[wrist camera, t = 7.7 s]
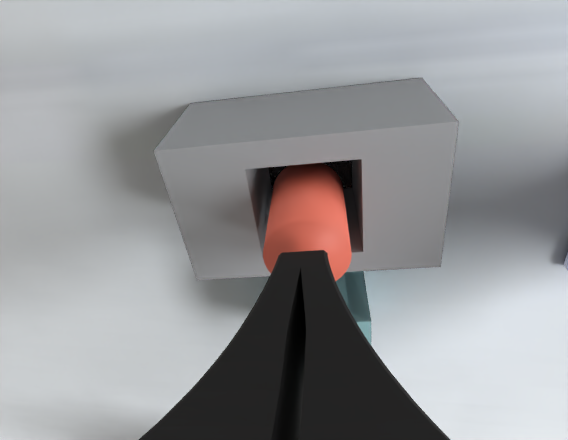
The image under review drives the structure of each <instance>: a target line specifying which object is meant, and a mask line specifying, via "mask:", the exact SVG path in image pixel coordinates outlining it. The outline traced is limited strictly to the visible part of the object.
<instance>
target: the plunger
mask: <svg viewBox="0 0 568 440" xmlns="http://www.w3.org/2000/svg"><path fill="white" fill-rule="evenodd" d="M314 250H324V251H326V252H327V253H328V260H329V264H330V267H331V270H332V273H333V276H334V278H335V281H337V280H338V279H339V278H341V277H342V276H343V275H344V273H345V272H346V271H347V269H348V268H349V265H350V263H351V257H352V253H351V245H350V238H349V230H348V222H347V214H346V207H345V199H344V191H343V185H342V181H341V179H340V177H339V176H338V174H337V173H336V172H335V171H334V170H333V169H332V168H330V167H329V166H327V165H325V164H323V163H312V164H300V165H289V166H287V167H286V168H285V169H283V170H282V171H281V172H280V173H279V175H278V176H277V178H276V180H275V182H274V186H273V192H272V199H271V205H270V211H269V217H268V223H267V230H266V236H265V242H264V248H263V259H264V263H265V265H266V267H267V269H268V271H269V272H270V273H272V271H273V268H274V266H275V264H276V261H277V259H278V256H279V255H280V254H281V253H283V252H298V251H314Z"/></svg>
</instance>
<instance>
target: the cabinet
mask: <svg viewBox="0 0 568 440" xmlns="http://www.w3.org/2000/svg"><path fill="white" fill-rule="evenodd" d="M458 124H459V121H458V120H457V119H456V117H455V116H454V115H453V114H452V113H451V111H450V110H449V109H448V108H447V107H446V106H445V104H444V103H443V102H442V101H441V100H440V98H439V97H438V96H437V95H436V94H435V92H434V91H433V90H432V89H431V88H430V87H429V85H428V84H427V83H426V82H425V81H424V79H423V78H415V79H406V80H397V81H388V82H379V83H370V84H361V85H352V86H343V87H334V88H325V89H316V90H307V91H298V92H289V93H280V94H270V95H261V96H252V97H243V98H234V99H225V100H216V101H207V102H198V103H190V104H189V106H188V107H187V108H186V110H185V111H184V112H183V114H182V115H181V116H180V117H179V119H178V120H177V121H176V123H175V124H174V125H173V126H172V128H171V129H170V130H169V132H168V133H167V134H166V135H165V137H164V138H163V139H162V141H161V142H160V143H159V144H158V146H157V147H156V148H155V150H154V154H155V157H156V160H157V163H158V166H159V169H160V172H161V175H162V178H163V181H164V184H165V187H166V190H167V192H168V195H169V198H170V201H171V204H172V207H173V210H174V213H175V216H176V219H177V222H178V225H179V228H180V231H181V234H182V237H183V240H184V243H185V246H186V249H187V252H188V255H189V258H190V261H191V264H192V267H193V270H194V273H195V275H196V278H197V280H209V279H227V278H246V277H264V276H270V275H271V273H270V272H269V271H268V269H267V267H266V265H265V263H264V259H263V248H264V242H265V236H266V230H267V223H268V217H269V211H270V205H271V199H272V186H271V180H270V174H269V168H268V167H278V166H289V165H300V164H312V163H323V162H334V161H346V160H352V186H353V188H345V189H343V191H344V199H345V207H346V214H347V222H348V230H349V238H350V245H351V253H352V257H351V263H350V265H349V268H348V269H347V271H346V272H354V271H373V270H391V269H409V268H427V267H441V259H442V252H443V244H444V236H445V228H446V220H447V212H448V204H449V196H450V188H451V180H452V172H453V164H454V156H455V148H456V140H457V132H458Z"/></svg>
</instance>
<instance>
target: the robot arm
mask: <svg viewBox="0 0 568 440" xmlns="http://www.w3.org/2000/svg"><path fill="white" fill-rule="evenodd" d="M564 266H565V268H566V269H567V270H568V253H567V256H566V259H565V262H564ZM139 440H450V439H449V438H448V437H447V436H446V435H445V434H444V433H443V432H442V431H441V430H440V429H439V428H438V426H437V425H436V424H435V423H434V422H433V421H432V420H431V419H430V418H429V417H428V416H427V415H426V414H425V412H424V411H423V410H422V409H421V408H420V407H419V406H418V405H417V404H416V403H415V401H414V400H413V399H412V398H411V397H410V395H409V394H408V393H407V392H406V391H405V389H404V388H403V387H402V386H401V385H400V383H399V382H398V381H397V380H396V378H395V377H394V376H393V375H392V374H391V372H390V371H389V370H388V368H387V367H386V366H385V364H384V363H383V362H382V360H381V359H380V358H379V356H378V355H377V353H376V352H375V351H374V349H373V348H372V346H371V345H370V343H369V342H368V340H367V339H366V337H365V336H364V334H363V332H362V331H361V329H360V328H359V326H358V324H357V322H356V321H355V319H354V317H353V316H352V314H351V312H350V310H349V308H348V306H347V304H346V302H345V300H344V298H343V296H342V294H341V292H340V290H339V288H338V286H337V283H336V281H335V278H334V276H333V273H332V270H331V267H330V264H329V260H328V253H327V252H326V251H324V250H314V251H298V252H283V253H281V254H280V255H279V256H278V259H277V261H276V264H275V266H274V268H273V271H272V273H271V275H270V277H269V279H268V281H267V283H266V285H265V287H264V289H263V291H262V292H261V294H260V296H259V298H258V300H257V302H256V303H255V305H254V307H253V308H252V310H251V312H250V313H249V315H248V316H247V318H246V320H245V321H244V323H243V324H242V326H241V327H240V329H239V330H238V332H237V333H236V335H235V336H234V338H233V339H232V340H231V342H230V343H229V345H228V346H227V347H226V349H225V350H224V351H223V352H222V354H221V355H220V356H219V358H218V359H217V360H216V361H215V362H214V364H213V365H212V366H211V367H210V368H209V370H208V371H207V372H206V373H205V374H204V376H203V377H202V378H201V379H200V380H199V381H198V382H197V384H196V385H195V386H194V387H193V388H192V389H191V390H190V391H189V392H188V393H187V394H186V395H185V396H184V397H183V398H182V399H181V400H180V401H179V402H178V403H177V404H176V405H175V406H174V407H173V408H172V409H171V410H170V411H169V412H168V413H167V414H166V415H165V416H164V417H163V418H162V419H161V420H160V421H159V422H158V423H157V424H156V425H155V426H154V427H153V428H151V429H150V430H149V431H148V432H147V433H146V434H145V435H143V436H142V437H141V438H140V439H139Z"/></svg>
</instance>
